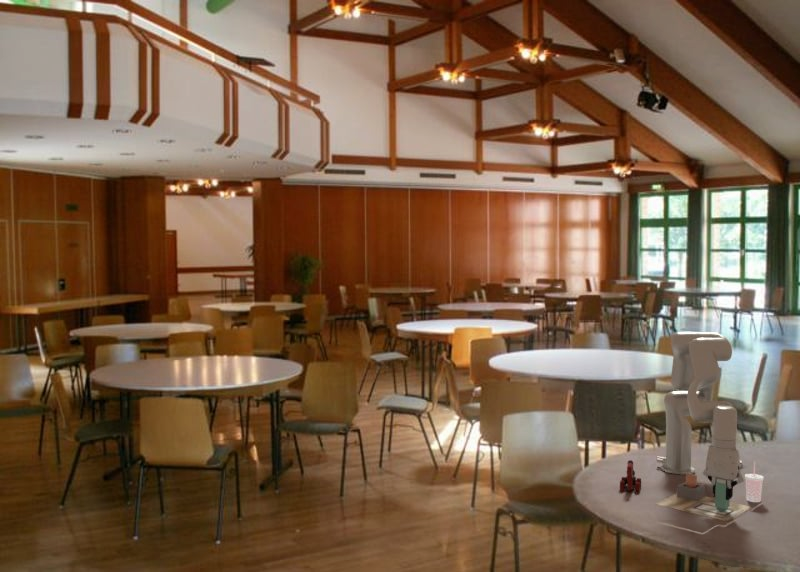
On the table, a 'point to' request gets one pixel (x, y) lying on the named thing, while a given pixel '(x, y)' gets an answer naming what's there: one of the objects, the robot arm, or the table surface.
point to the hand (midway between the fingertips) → (722, 497)
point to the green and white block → (721, 495)
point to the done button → (691, 480)
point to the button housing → (691, 492)
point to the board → (704, 507)
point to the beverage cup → (753, 486)
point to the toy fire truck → (630, 480)
